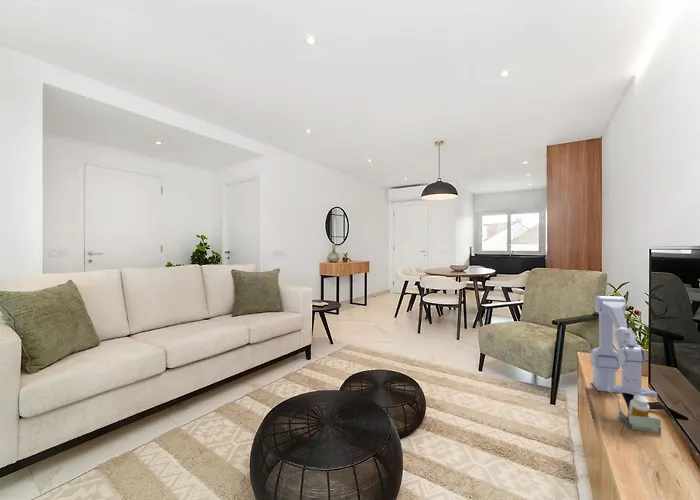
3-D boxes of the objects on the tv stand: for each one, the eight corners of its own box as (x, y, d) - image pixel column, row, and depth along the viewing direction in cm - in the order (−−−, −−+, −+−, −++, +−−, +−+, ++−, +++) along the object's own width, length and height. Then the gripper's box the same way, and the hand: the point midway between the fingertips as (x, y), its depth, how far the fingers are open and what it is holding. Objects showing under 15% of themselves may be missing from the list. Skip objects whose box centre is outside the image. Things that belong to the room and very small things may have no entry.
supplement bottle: (650, 426, 115) (655, 404, 112) (633, 425, 115) (638, 403, 113) (639, 414, 120) (644, 393, 117) (623, 414, 121) (627, 392, 118)
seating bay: (619, 416, 122) (618, 403, 121) (647, 420, 118) (647, 407, 118) (629, 428, 113) (629, 415, 113) (660, 433, 110) (660, 419, 110)
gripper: (612, 379, 120) (612, 415, 120) (661, 384, 114) (661, 421, 115) (605, 372, 126) (605, 406, 126) (651, 377, 121) (651, 412, 121)
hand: (631, 413), depth 121 cm, fingers closed, pressing on supplement bottle
